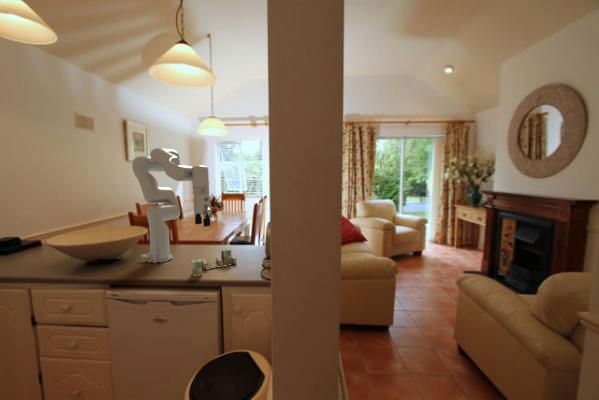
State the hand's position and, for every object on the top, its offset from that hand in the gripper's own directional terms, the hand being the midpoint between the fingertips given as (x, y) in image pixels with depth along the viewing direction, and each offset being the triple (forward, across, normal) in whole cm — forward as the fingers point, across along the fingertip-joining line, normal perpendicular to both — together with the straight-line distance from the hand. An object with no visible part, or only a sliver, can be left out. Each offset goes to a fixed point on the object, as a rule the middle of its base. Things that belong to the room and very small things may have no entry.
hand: (202, 225), depth 122 cm
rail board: (+24, +3, -9) cm, 26 cm away
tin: (+22, +55, +32) cm, 67 cm away
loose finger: (+24, -2, +5) cm, 24 cm away
